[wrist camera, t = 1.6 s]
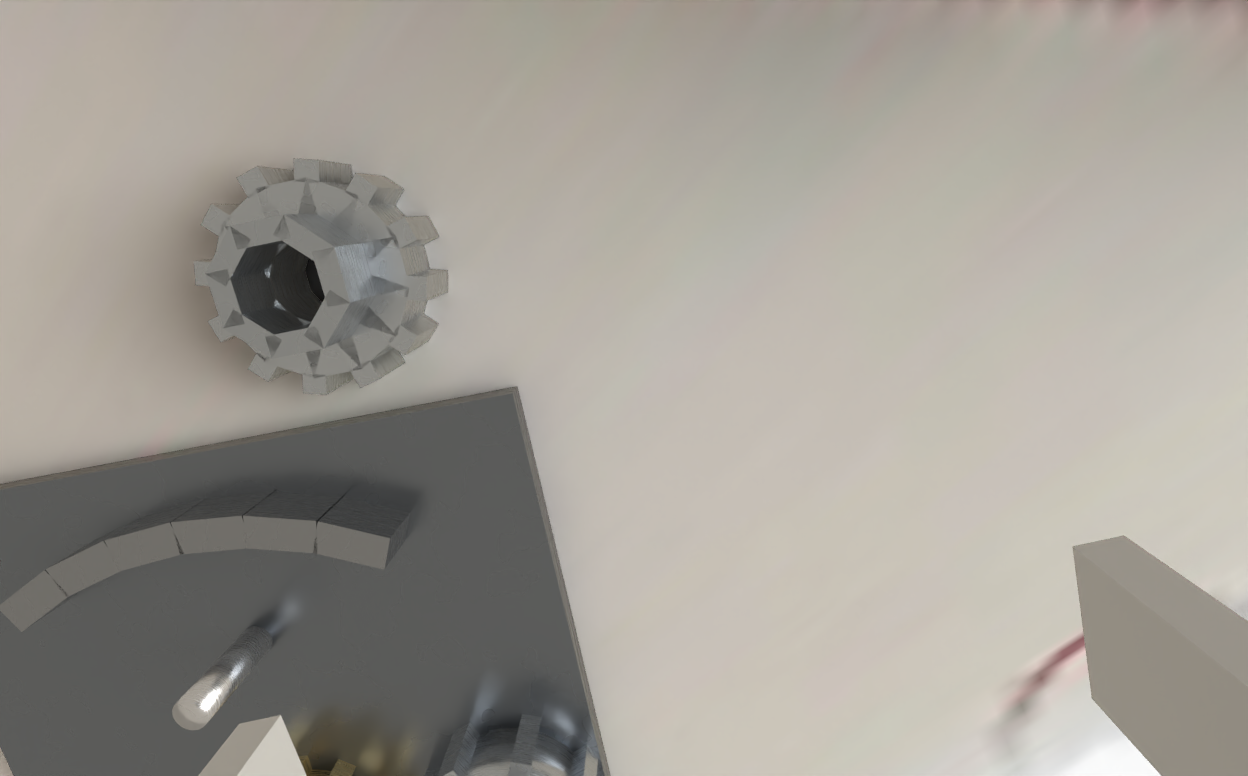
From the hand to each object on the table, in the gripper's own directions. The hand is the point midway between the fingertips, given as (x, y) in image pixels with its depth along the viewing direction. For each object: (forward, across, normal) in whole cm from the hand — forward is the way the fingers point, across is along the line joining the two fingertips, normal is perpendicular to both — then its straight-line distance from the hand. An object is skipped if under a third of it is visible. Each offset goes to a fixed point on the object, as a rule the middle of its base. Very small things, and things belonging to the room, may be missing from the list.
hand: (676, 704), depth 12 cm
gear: (+20, -11, +8) cm, 24 cm away
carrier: (+20, -20, -10) cm, 30 cm away
